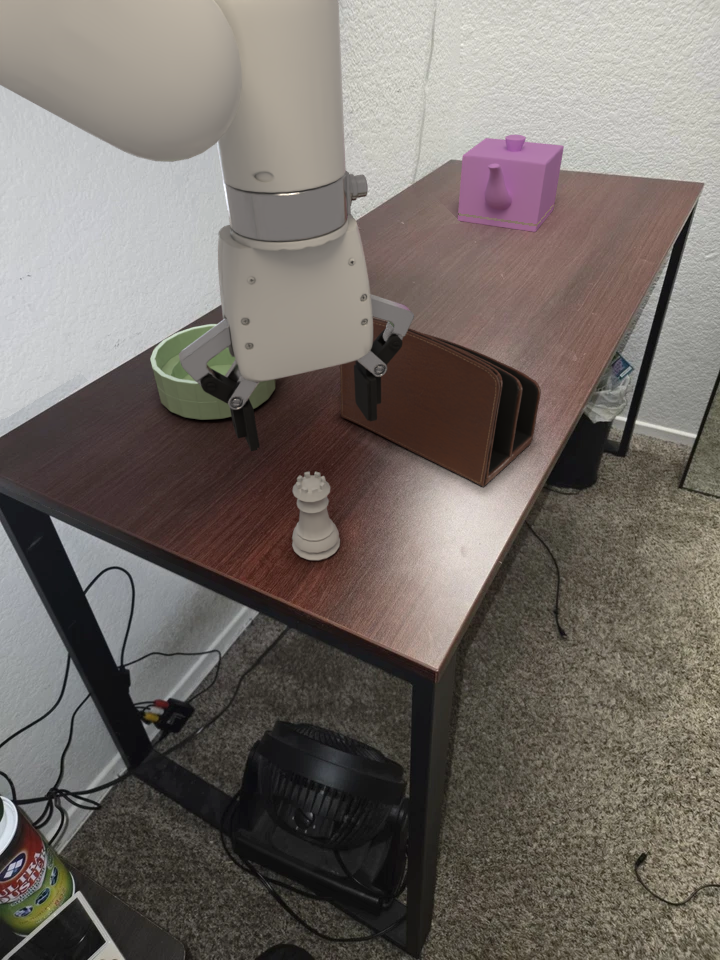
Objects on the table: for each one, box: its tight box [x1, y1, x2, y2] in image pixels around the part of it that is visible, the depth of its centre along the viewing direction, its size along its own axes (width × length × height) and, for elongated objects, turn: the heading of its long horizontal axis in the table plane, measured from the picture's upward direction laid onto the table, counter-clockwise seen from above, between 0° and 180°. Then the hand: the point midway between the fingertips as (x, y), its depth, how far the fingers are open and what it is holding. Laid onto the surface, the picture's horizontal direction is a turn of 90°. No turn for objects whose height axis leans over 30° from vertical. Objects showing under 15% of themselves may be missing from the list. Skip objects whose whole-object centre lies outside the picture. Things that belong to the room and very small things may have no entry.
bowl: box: [149, 323, 277, 421], centre depth 80 cm, size 14×14×6 cm
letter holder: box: [339, 317, 542, 488], centre depth 70 cm, size 10×20×14 cm, turn 49°
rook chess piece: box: [291, 471, 341, 562], centre depth 58 cm, size 4×4×8 cm
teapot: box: [457, 134, 565, 233], centre depth 122 cm, size 15×25×14 cm, turn 153°
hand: (309, 426), depth 52 cm, fingers open, 9 cm apart
